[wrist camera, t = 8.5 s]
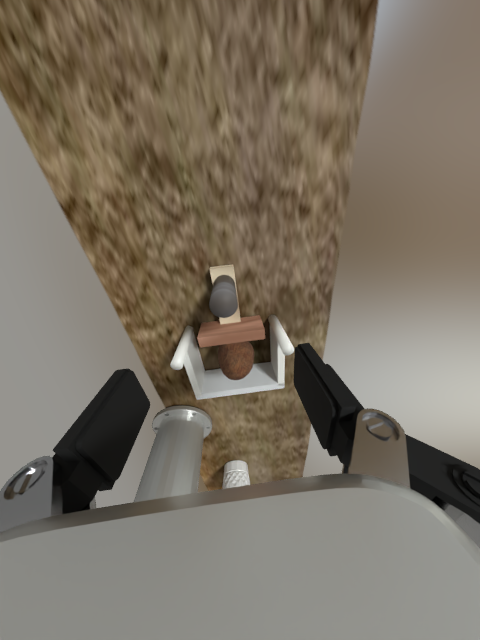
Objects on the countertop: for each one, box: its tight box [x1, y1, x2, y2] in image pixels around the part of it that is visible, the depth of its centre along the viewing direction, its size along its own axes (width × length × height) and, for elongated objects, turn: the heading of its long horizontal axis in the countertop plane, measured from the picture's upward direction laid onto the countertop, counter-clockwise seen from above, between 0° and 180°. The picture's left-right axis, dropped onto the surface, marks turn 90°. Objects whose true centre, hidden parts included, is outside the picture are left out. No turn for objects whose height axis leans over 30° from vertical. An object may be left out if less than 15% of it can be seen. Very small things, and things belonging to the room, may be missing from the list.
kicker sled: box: [197, 264, 265, 348], centre depth 21 cm, size 10×9×8 cm
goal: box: [170, 315, 294, 400], centre depth 26 cm, size 11×15×8 cm
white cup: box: [222, 460, 250, 489], centre depth 45 cm, size 8×8×10 cm
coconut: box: [218, 341, 254, 380], centre depth 25 cm, size 5×5×8 cm
